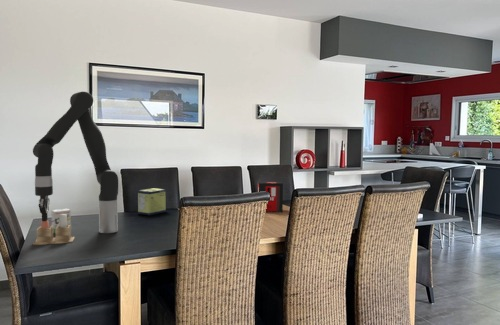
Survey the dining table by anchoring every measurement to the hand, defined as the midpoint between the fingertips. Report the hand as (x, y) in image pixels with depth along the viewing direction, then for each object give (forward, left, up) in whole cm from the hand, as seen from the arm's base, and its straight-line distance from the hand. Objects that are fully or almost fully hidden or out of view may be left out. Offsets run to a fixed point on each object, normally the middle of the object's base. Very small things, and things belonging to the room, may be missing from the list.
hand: (44, 220), depth 189 cm
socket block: (-4, 0, -10) cm, 11 cm away
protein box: (-53, -60, -11) cm, 81 cm away
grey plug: (-8, 0, -6) cm, 10 cm away
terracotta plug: (0, 0, -9) cm, 9 cm away
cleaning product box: (-132, -47, -11) cm, 141 cm away
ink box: (-4, -20, -11) cm, 23 cm away
